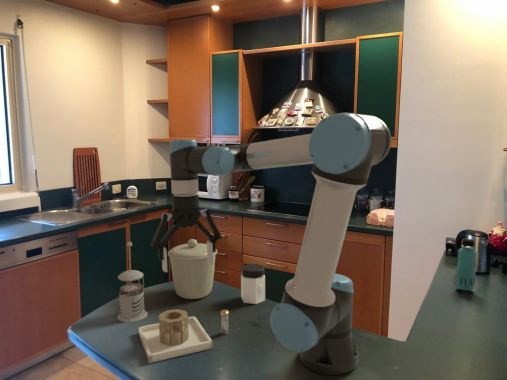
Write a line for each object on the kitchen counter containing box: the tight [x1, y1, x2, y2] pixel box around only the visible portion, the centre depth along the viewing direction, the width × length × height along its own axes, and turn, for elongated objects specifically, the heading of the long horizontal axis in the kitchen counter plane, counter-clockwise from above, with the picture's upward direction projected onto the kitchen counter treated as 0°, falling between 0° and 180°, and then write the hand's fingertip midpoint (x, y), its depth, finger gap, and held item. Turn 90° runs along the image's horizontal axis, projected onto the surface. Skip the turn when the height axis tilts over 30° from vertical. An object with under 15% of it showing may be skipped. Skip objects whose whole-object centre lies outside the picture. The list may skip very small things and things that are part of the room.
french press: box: [116, 241, 149, 323], centre depth 134 cm, size 10×12×25 cm
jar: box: [240, 263, 266, 305], centre depth 146 cm, size 9×8×12 cm
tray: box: [137, 315, 214, 364], centre depth 118 cm, size 18×18×2 cm
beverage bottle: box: [455, 238, 478, 291], centre depth 153 cm, size 6×7×20 cm
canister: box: [167, 238, 218, 300], centre depth 151 cm, size 18×18×21 cm
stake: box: [219, 309, 230, 335], centre depth 122 cm, size 3×3×7 cm
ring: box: [158, 309, 189, 346], centre depth 117 cm, size 8×9×7 cm
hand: (188, 267), depth 117 cm, fingers open, 13 cm apart
